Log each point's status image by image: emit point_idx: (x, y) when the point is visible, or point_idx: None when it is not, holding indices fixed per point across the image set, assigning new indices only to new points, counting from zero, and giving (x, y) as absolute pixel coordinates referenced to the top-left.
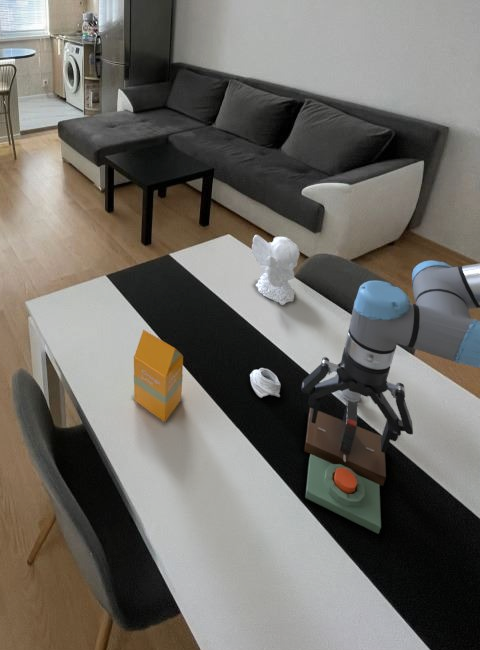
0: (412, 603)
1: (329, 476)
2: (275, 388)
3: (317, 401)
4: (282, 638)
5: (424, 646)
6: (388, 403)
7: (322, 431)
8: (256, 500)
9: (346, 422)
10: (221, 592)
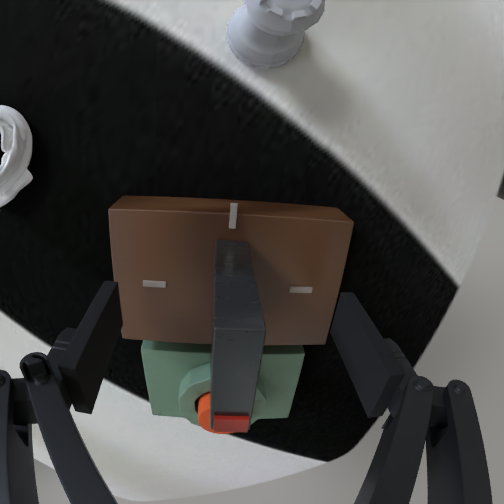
0: (309, 441)
1: (188, 408)
2: (6, 178)
3: (81, 411)
4: (167, 489)
5: (309, 459)
6: (415, 470)
7: (157, 286)
8: (88, 416)
9: (210, 424)
10: (103, 478)
